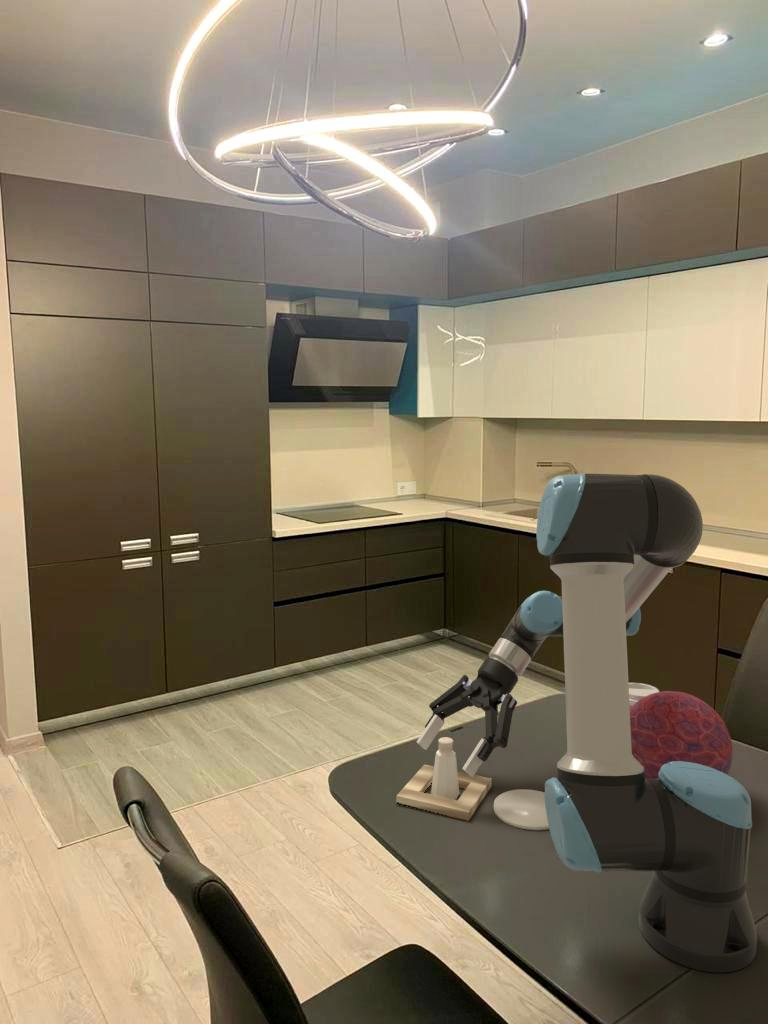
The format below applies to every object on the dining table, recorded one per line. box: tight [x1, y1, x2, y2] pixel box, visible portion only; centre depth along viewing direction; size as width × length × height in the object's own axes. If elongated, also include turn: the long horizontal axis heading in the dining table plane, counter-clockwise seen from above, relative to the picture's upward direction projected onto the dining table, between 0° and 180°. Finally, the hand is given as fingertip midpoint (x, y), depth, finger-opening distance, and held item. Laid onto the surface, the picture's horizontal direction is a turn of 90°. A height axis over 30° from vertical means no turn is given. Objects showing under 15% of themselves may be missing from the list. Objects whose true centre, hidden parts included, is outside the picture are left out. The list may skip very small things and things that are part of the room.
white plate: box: [493, 788, 550, 831], centre depth 138 cm, size 13×13×1 cm
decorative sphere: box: [630, 690, 734, 779], centre depth 143 cm, size 20×20×20 cm
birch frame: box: [395, 764, 493, 822], centre depth 144 cm, size 14×14×2 cm
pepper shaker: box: [430, 736, 460, 800], centre depth 143 cm, size 5×5×11 cm
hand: (443, 759), depth 144 cm, fingers open, 13 cm apart
